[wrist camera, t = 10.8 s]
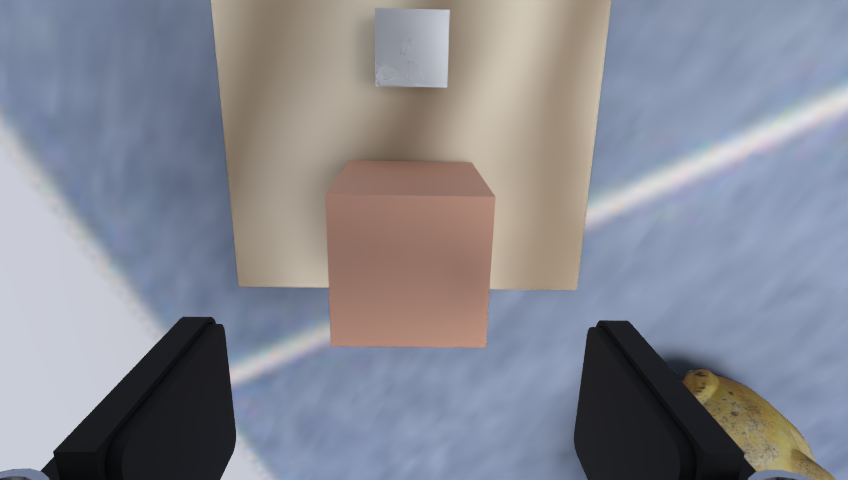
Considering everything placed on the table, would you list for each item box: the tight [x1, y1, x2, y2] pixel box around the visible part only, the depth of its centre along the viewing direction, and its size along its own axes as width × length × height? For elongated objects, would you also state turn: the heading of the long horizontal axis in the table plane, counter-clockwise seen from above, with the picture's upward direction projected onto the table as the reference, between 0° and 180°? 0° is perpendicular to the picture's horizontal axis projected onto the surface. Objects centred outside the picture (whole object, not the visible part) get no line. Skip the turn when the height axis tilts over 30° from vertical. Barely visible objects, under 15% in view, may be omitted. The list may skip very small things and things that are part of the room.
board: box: [211, 0, 611, 290], centre depth 23 cm, size 16×13×1 cm
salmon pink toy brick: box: [325, 160, 496, 348], centre depth 20 cm, size 5×5×7 cm
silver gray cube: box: [375, 8, 450, 88], centre depth 20 cm, size 3×3×3 cm
